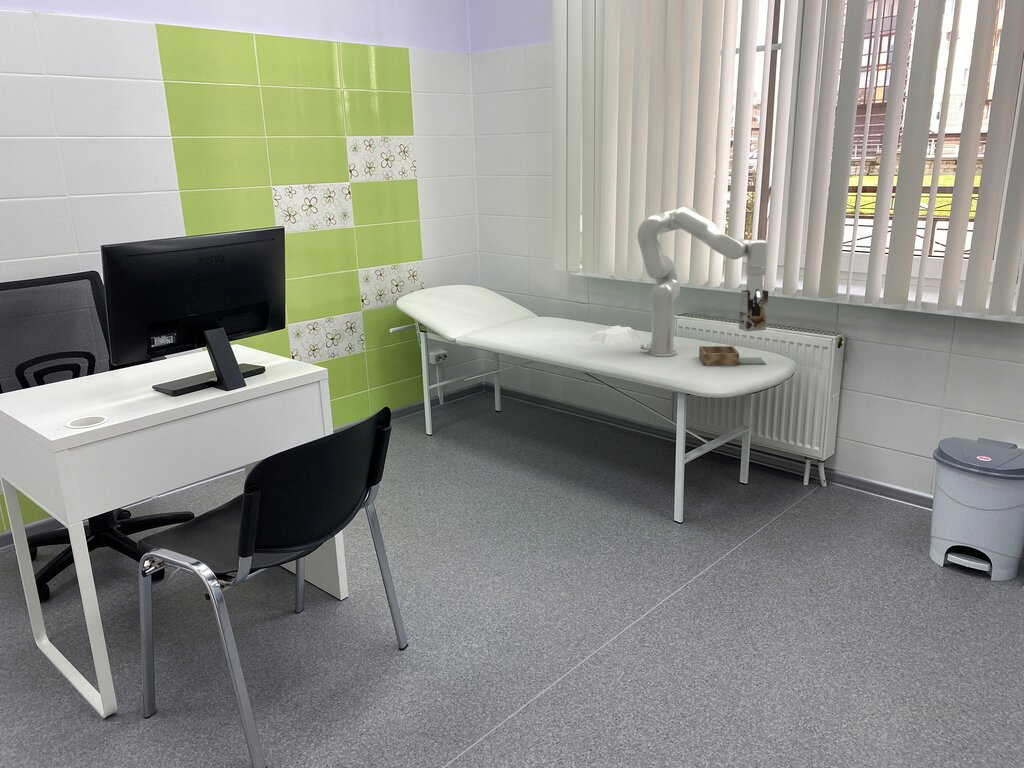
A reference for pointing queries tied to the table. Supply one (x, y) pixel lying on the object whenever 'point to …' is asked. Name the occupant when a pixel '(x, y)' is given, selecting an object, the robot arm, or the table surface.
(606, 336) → the paper sheets
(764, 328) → the coffee box
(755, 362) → the mat
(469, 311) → the table surface
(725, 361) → the holder
